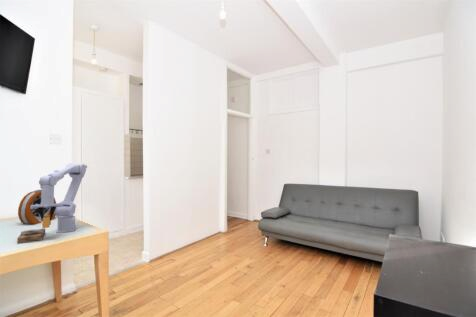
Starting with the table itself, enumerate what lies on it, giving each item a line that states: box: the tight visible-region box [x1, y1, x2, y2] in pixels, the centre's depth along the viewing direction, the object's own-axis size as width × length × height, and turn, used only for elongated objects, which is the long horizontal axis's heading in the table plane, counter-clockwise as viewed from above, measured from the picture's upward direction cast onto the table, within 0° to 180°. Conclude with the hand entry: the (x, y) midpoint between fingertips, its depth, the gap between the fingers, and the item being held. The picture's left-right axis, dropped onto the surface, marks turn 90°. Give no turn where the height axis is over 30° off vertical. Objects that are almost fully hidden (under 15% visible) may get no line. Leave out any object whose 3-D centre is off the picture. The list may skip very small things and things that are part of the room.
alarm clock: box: [17, 189, 57, 226], centre depth 173 cm, size 22×10×23 cm, turn 171°
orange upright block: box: [41, 215, 52, 229], centre depth 139 cm, size 3×7×6 cm, turn 32°
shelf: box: [16, 228, 46, 245], centre depth 139 cm, size 10×15×5 cm, turn 32°
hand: (46, 220), depth 139 cm, fingers closed on orange upright block, 3 cm apart
